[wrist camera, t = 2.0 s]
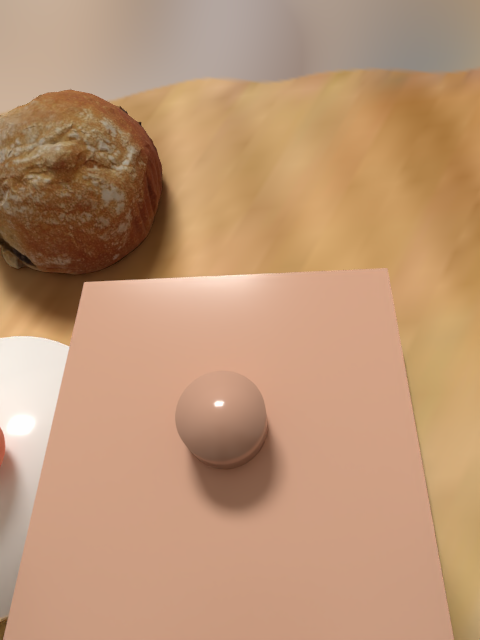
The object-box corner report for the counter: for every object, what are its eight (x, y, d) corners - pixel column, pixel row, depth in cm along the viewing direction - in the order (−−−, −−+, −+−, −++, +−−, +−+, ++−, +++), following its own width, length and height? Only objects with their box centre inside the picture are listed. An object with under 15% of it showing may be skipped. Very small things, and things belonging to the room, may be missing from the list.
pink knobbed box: (367, 613, 14) (477, 671, 6) (153, 607, 15) (-30, 652, 6) (345, 402, 18) (394, 245, 9) (172, 405, 18) (69, 261, 10)
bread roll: (15, 264, 29) (-113, 228, 21) (66, 112, 29) (-43, 19, 21) (148, 309, 26) (57, 287, 18) (204, 141, 26) (137, 47, 18)
